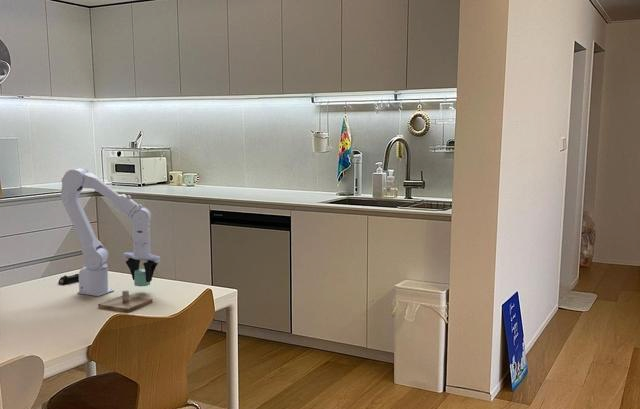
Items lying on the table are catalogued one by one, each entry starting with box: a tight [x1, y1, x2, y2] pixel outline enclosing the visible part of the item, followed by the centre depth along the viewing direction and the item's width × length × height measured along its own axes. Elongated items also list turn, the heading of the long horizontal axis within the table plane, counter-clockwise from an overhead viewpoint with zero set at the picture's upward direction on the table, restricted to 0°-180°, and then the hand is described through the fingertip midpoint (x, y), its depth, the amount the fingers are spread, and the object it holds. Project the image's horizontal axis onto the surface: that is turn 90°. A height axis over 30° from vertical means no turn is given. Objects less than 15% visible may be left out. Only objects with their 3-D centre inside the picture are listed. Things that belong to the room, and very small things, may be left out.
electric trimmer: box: [57, 273, 79, 286], centre depth 229 cm, size 4×16×3 cm, turn 144°
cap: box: [133, 268, 151, 287], centre depth 213 cm, size 5×5×5 cm
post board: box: [97, 289, 153, 313], centre depth 198 cm, size 12×12×5 cm
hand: (142, 280), depth 213 cm, fingers closed on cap, 5 cm apart
